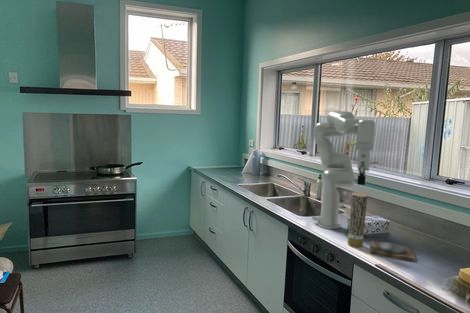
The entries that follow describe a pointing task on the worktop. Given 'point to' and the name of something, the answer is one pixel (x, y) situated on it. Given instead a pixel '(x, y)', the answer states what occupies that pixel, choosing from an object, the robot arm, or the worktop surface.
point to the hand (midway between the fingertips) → (361, 183)
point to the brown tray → (392, 251)
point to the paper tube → (357, 219)
